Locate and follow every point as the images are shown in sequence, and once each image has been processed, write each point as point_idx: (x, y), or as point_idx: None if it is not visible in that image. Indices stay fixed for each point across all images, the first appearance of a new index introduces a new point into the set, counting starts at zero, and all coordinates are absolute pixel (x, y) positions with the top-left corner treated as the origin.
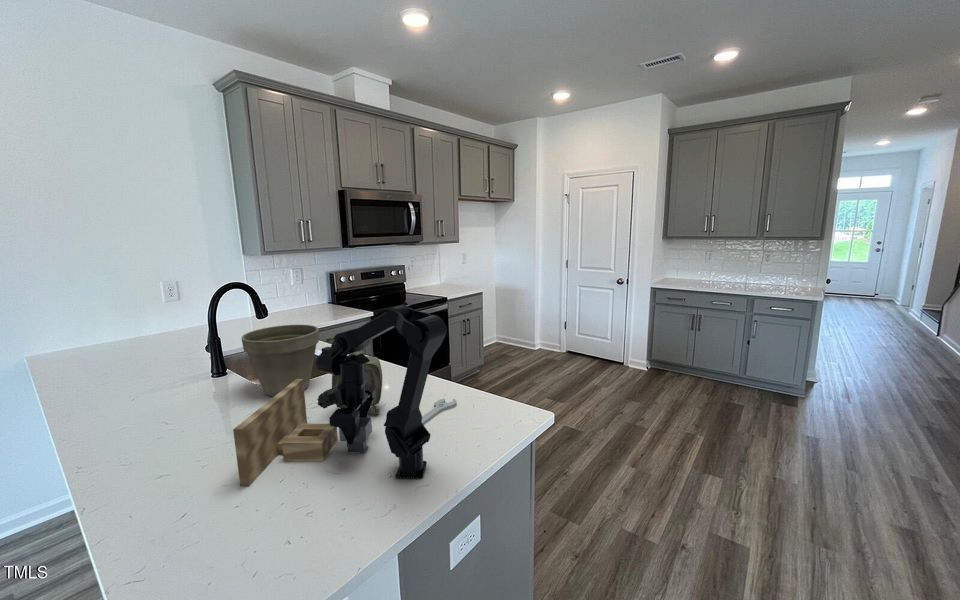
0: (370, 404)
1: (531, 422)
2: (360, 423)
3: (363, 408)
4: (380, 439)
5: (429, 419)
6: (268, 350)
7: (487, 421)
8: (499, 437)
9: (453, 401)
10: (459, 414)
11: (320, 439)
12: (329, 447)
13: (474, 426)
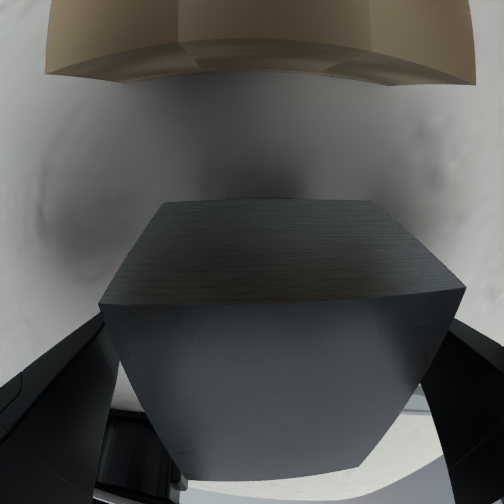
0: (456, 499)
1: (343, 495)
2: (252, 459)
3: (478, 445)
4: None
5: None
6: None
7: (371, 472)
8: (302, 491)
9: None
10: (426, 437)
11: (106, 15)
12: (238, 66)
13: (359, 468)
